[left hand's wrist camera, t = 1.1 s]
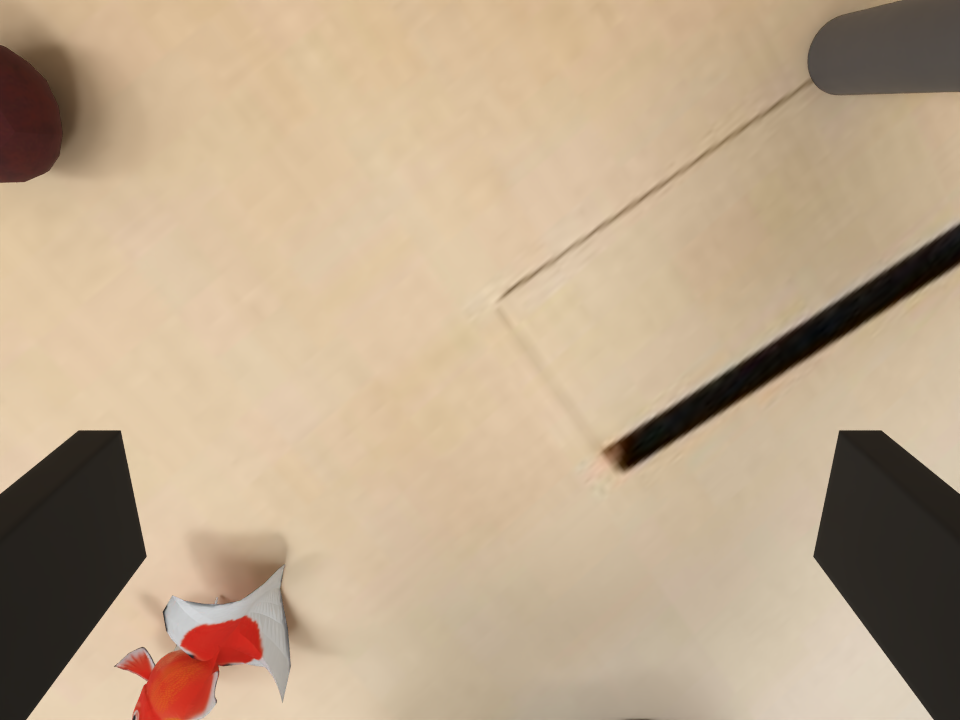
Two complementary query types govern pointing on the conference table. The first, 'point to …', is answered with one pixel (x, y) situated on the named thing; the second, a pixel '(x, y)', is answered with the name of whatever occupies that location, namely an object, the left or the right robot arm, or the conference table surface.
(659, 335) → the conference table surface
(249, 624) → the fish
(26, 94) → the dark maroon ball
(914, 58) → the bottle
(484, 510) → the conference table surface
